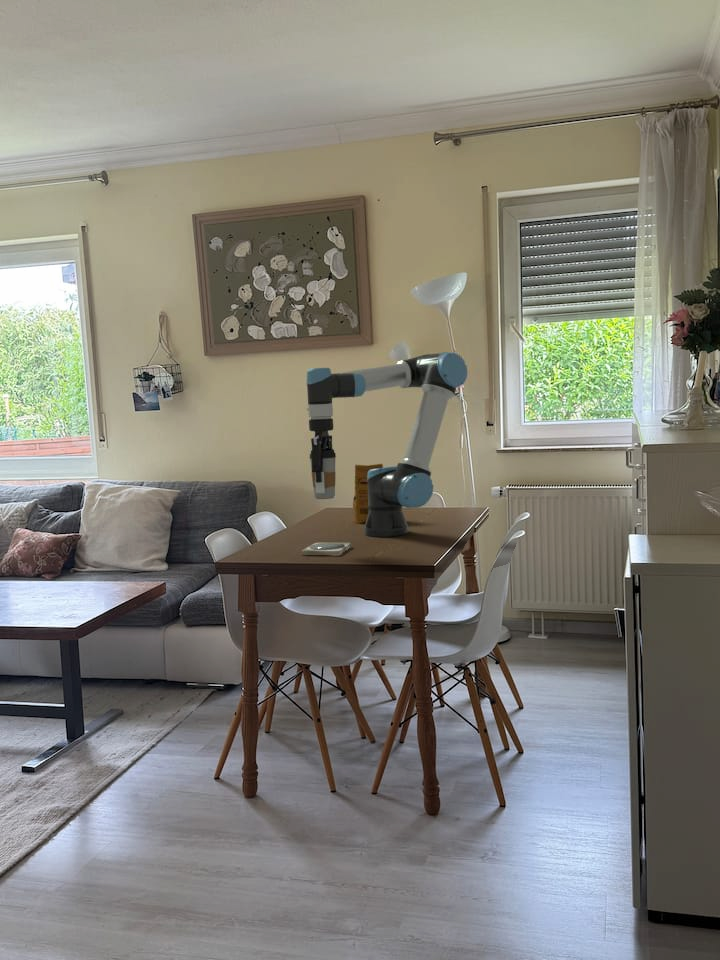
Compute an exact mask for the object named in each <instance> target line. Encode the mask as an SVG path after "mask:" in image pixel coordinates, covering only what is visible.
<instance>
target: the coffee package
mask: <svg viewBox="0 0 720 960" xmlns="http://www.w3.org/2000/svg"><path fill="white" fill-rule="evenodd" d="M377 468H384V466H383V463H376V464H375V463H374V464H370V465H366V464H365V465H364V464H355V465H354V496H353V500H352V509H353V510H352V511H353V517H354V521H353V522H354V523H355V524H366V521H367V517H368V513H369V504H368V482H367V474H368V471H369V470H371V469H377Z"/></svg>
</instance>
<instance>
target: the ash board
mask: <svg viewBox="0 0 720 960" xmlns="http://www.w3.org/2000/svg"><path fill="white" fill-rule="evenodd" d="M352 546H353V545H352V542H321V541H320V542H314V543H312V544H310V545H309V546H307V547H306V548H304V549H302V550H301V556H302V555H330V556H329V557H339V555H340V556H341V555H343V554H344V553H345V551H346V550H347V551H348V549H349V548H350V549H351V547H352ZM350 549H349V550H350ZM347 551H346V552H347ZM343 552H344V553H343ZM342 553H343V554H342ZM331 555H332V556H331Z"/></svg>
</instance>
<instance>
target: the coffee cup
mask: <svg viewBox="0 0 720 960" xmlns="http://www.w3.org/2000/svg"><path fill="white" fill-rule="evenodd" d="M321 452H322V451H321ZM321 456H322V455H321ZM336 457H337V456H336V452H335V449H329V450H325V451H323V471H322V472H324V484H325V493H316V487H315V472H312V450H310V454H309V461H310V462H309V463H310V467H311V468H310V470H311V479H312V481H311V482H312V487H313V494H314V498H315V499H316V500H330V499H335V497H336Z"/></svg>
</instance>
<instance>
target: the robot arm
mask: <svg viewBox="0 0 720 960" xmlns="http://www.w3.org/2000/svg"><path fill="white" fill-rule="evenodd" d="M465 362H466V361H465V360H464V358H463V357H462V356H461V355H459V354H458V353H456V352H448V351H445V352H444V351H443V352H440V353H439V352H438V353H427V354H422V355H419V356H415V357H411V358H408V359H407V358H406V359H403V360H399V361H397V362H396V363H395V364H390V365H383V366H376V367H369V368H363V369H357V370H356V369H355V370H349V371H343V372H336V373H332V371H331V368H329V367H312V368H308V369H307V372H306V388H307V389H306V391H307V405H308V406H307V408H306V410H307V411H308V417H309V418H310V419H309V420H308V427H309V431H310V432H314V437H312V438H311V439H310V441H311V451H312V471H311V473H312V472H315V487H316V493H325V484H324V472H322V471H323V451H325V450H329V449H333V435H330V433H329V431H330V432H331V431H333V430H334V419H333V418H332V417H334V407H333V399H336V398H337V399H340V398H341V399H342V398H344V399H345V398H357V397H362V396H363V395H364V394H365V393H366V392H370V391H376V390H377V391H378V390H383V389H384V390H385V389H390V388H396V387H399V388H402V389H406V388H407V389H408V388H421V389H422V392H423V395H422V399H421V402H420V404H419V408H418V412H417V414H416V419H415V421H414V425H413V429H412V431H411V434H410V438H409V441H408V444H407V448H406V451H405V455H404V458H403V459H402V460H400V461H399V462H398V463H397V465H396V466H386V467H383V468H377V469H371V470H369V471H368V474H367V482H368V504H369V513H368V517H367V521H366V523H364V525H365V526H364V535H366V536H368V537H376V538H377V537H398V536H403V535H406V534H408V533H409V525H408V523H407V520H406V518H405V515H404V512H403V507H404V508H406V509H408V508H409V509H412V508H415V509H417V508H421V507H423V506H425V505H426V504H427V503H428V502H429V501H430V500H431V498H432V496H433V493H434V484H433V480H432V478H431V476H432V470H431V469H430V463H431V460H432V456H433V453H434V449H435V446H436V442H437V440H438V439H437V438H438V435H439V432H440V428H441V426H442V422H443V419H444V416H445V412H446V409H447V406H448V402H449V400H451V399H452V398H454V397H455V394H456V391H457V388H460V387H461V386H462V385H464V383H466V380H467V378H468V367H467V364H466V363H465ZM333 450H334V449H333ZM321 451H322V452H321ZM321 455H322V456H321Z"/></svg>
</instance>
